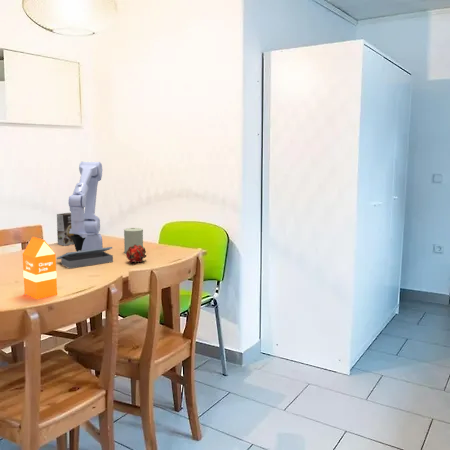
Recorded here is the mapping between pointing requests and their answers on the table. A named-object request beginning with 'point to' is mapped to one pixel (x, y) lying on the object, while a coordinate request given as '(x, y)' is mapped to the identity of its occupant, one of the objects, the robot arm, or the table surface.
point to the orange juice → (39, 269)
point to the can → (132, 237)
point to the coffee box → (64, 229)
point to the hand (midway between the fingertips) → (78, 250)
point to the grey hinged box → (86, 260)
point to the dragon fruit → (136, 253)
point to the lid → (84, 252)
